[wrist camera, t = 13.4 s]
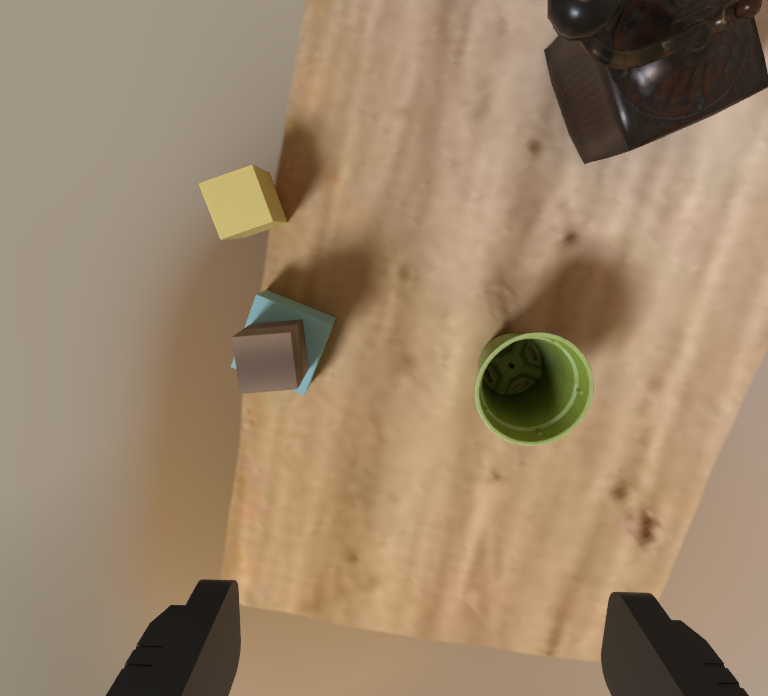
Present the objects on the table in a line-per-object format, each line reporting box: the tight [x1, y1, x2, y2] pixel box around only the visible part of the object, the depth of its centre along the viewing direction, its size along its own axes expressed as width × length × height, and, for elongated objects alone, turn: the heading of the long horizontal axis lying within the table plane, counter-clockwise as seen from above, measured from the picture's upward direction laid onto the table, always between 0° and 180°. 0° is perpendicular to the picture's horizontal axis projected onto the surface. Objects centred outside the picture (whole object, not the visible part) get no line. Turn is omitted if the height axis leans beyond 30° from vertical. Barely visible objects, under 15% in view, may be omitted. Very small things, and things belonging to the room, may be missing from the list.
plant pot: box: [475, 332, 594, 446], centre depth 45 cm, size 9×9×9 cm
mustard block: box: [199, 165, 287, 240], centre depth 43 cm, size 4×4×6 cm
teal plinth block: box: [231, 290, 336, 395], centre depth 47 cm, size 7×7×4 cm
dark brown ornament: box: [544, 0, 768, 164], centre depth 35 cm, size 16×11×18 cm
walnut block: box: [232, 319, 309, 394], centre depth 42 cm, size 4×4×6 cm
